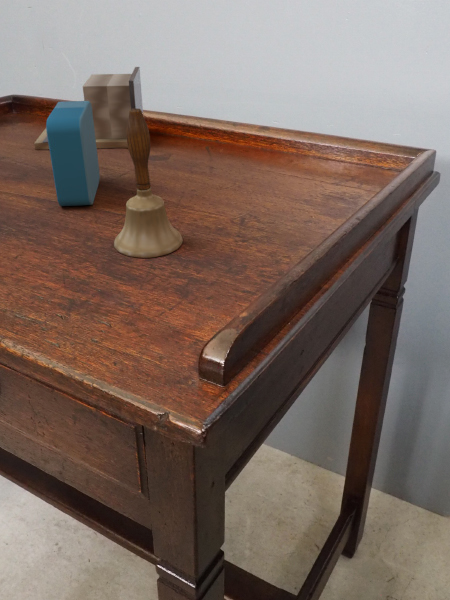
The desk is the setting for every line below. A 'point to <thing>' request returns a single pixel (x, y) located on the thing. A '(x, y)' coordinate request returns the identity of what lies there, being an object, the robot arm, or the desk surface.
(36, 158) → the desk surface
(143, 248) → the hand bell
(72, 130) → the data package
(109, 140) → the book rack
